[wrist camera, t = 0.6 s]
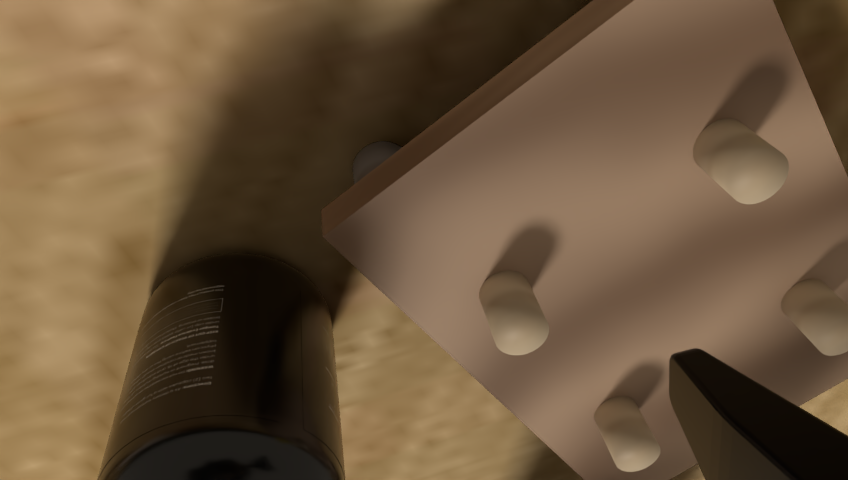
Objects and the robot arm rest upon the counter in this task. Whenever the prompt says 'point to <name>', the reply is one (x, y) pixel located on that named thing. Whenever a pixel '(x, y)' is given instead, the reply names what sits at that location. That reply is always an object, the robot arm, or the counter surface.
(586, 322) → the peg shelf
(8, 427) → the counter surface
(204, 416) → the supplement bottle
